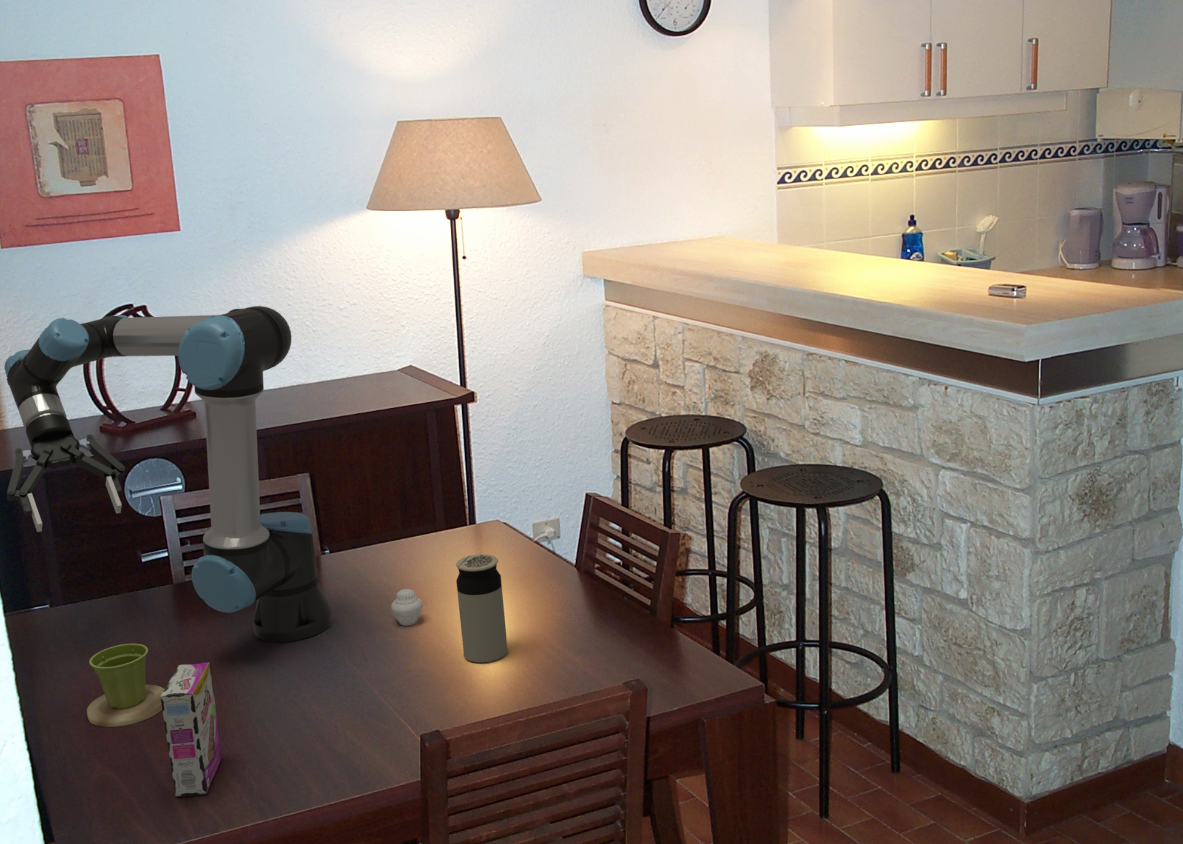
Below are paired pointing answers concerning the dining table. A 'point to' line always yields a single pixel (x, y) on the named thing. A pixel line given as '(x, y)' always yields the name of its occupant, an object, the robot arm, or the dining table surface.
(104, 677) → the plant pot
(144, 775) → the dining table surface
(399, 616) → the muffin
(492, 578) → the travel mug
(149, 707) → the plate
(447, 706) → the dining table surface
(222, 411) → the robot arm
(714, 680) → the dining table surface
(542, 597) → the dining table surface
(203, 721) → the candy bar box
